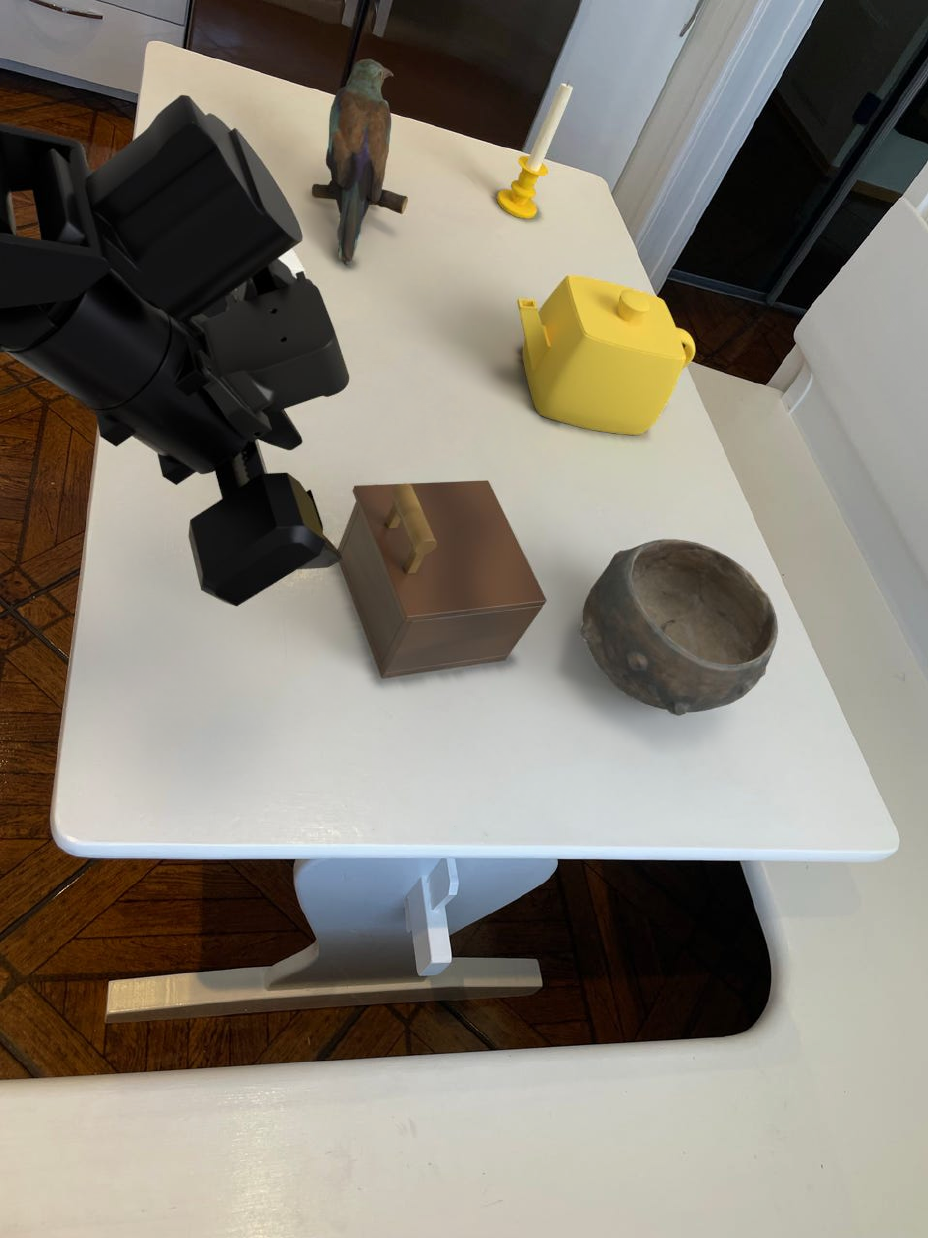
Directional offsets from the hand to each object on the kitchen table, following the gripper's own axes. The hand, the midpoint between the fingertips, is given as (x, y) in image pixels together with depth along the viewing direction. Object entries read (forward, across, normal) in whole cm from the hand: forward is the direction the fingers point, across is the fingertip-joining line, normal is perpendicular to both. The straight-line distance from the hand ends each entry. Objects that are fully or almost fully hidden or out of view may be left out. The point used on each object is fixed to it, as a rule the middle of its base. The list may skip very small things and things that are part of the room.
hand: (314, 500), depth 56 cm
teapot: (+38, +26, -15) cm, 49 cm away
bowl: (+32, -7, -9) cm, 34 cm away
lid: (+13, +1, -3) cm, 14 cm away
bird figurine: (+26, +53, -4) cm, 59 cm away
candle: (+43, +60, -19) cm, 76 cm away
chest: (+18, +1, +2) cm, 19 cm away
